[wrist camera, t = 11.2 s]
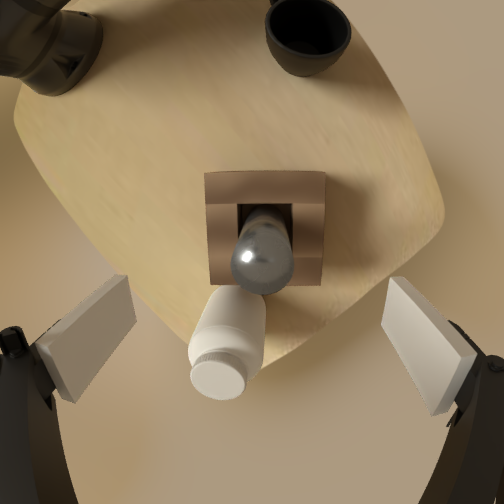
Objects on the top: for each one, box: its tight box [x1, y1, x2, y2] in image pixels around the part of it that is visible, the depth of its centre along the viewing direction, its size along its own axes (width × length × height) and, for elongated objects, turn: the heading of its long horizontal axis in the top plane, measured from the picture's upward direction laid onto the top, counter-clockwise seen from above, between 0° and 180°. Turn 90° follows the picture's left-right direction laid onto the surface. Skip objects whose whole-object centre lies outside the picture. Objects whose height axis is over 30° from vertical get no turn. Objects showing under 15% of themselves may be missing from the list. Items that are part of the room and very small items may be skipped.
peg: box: [230, 204, 294, 295], centre depth 26 cm, size 4×4×14 cm
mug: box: [265, 0, 351, 77], centre depth 23 cm, size 8×12×10 cm
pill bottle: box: [188, 285, 266, 400], centre depth 31 cm, size 8×8×15 cm
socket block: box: [204, 171, 325, 286], centre depth 31 cm, size 12×12×6 cm
